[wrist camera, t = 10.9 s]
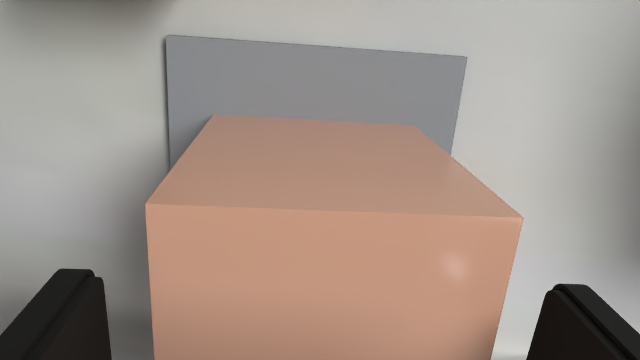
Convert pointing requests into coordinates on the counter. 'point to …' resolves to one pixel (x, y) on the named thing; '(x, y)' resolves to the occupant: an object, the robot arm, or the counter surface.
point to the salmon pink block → (325, 246)
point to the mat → (308, 86)
